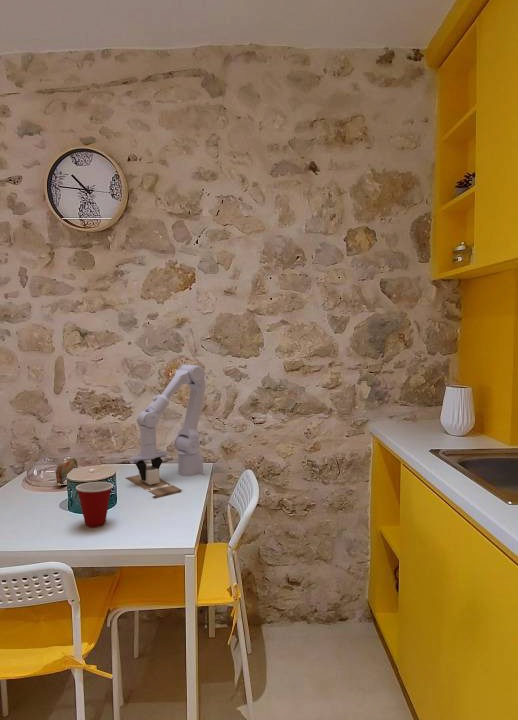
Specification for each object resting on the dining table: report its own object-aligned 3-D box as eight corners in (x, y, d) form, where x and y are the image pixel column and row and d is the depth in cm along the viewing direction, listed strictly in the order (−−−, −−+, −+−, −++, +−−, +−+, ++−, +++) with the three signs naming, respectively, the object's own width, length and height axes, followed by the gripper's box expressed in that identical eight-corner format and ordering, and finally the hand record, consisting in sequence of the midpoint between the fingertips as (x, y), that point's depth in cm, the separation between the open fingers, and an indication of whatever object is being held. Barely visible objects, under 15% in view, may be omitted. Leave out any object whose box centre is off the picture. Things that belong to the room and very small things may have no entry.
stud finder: (148, 476, 192) (148, 463, 192) (159, 482, 185) (159, 468, 185) (139, 479, 190) (138, 465, 190) (149, 484, 183) (149, 470, 182)
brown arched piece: (63, 489, 184) (62, 466, 183) (54, 489, 184) (53, 466, 183) (78, 476, 199) (78, 455, 198) (71, 476, 199) (70, 455, 198)
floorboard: (148, 475, 199) (148, 472, 199) (181, 492, 179) (181, 488, 179) (124, 480, 193) (124, 477, 193) (155, 498, 173) (155, 495, 173)
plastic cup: (121, 518, 155) (120, 481, 154) (100, 532, 145) (99, 492, 144) (92, 514, 158) (90, 477, 158) (69, 528, 148) (67, 488, 147)
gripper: (160, 438, 194) (161, 472, 195) (125, 444, 185) (126, 480, 186) (169, 441, 189) (170, 476, 190) (133, 447, 180) (134, 484, 181)
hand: (149, 478), depth 188 cm, fingers closed on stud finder, 4 cm apart
